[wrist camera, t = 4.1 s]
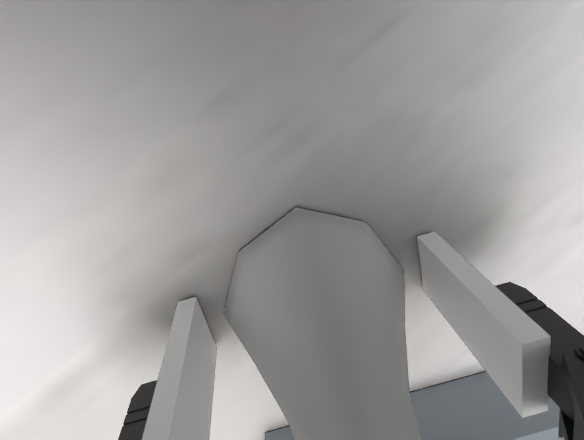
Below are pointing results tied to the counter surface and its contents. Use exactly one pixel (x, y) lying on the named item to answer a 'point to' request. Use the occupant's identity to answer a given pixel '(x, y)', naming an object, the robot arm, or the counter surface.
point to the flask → (326, 327)
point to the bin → (470, 414)
